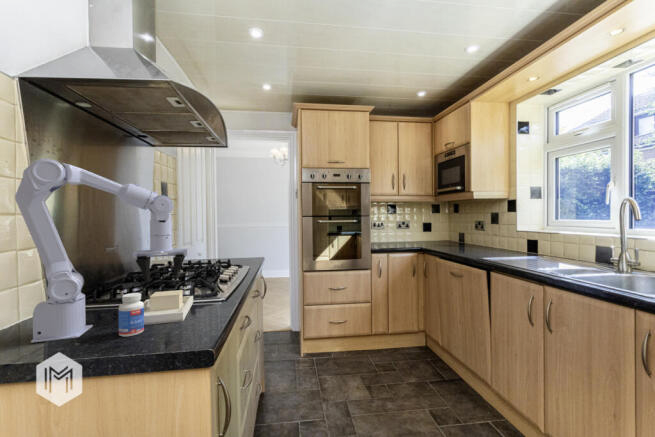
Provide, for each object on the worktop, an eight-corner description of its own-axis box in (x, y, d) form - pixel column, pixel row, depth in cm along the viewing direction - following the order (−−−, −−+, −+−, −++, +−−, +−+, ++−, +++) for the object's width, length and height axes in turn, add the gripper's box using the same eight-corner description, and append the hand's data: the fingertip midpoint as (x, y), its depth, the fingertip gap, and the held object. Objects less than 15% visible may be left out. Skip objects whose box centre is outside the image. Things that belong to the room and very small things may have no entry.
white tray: (126, 327, 78) (125, 317, 78) (146, 307, 95) (146, 299, 95) (183, 321, 82) (183, 312, 82) (193, 303, 99) (193, 295, 99)
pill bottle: (132, 337, 71) (131, 298, 71) (113, 336, 72) (112, 297, 72) (149, 329, 77) (148, 292, 76) (131, 328, 77) (131, 291, 77)
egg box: (150, 311, 89) (149, 296, 89) (155, 305, 95) (155, 292, 95) (179, 308, 92) (179, 294, 92) (183, 303, 97) (182, 290, 97)
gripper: (128, 237, 81) (129, 285, 81) (185, 235, 85) (185, 281, 86) (137, 235, 88) (137, 280, 88) (189, 234, 92) (190, 276, 92)
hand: (161, 280), depth 87 cm, fingers open, 7 cm apart
